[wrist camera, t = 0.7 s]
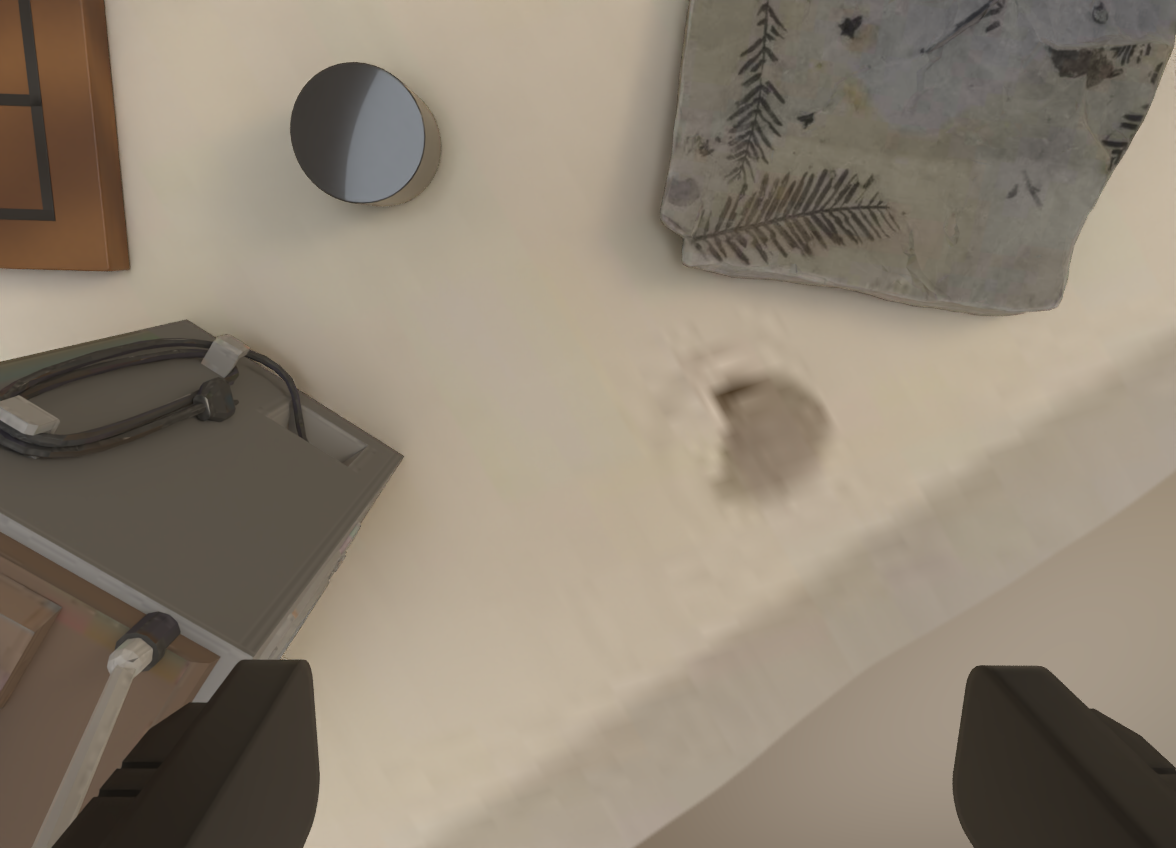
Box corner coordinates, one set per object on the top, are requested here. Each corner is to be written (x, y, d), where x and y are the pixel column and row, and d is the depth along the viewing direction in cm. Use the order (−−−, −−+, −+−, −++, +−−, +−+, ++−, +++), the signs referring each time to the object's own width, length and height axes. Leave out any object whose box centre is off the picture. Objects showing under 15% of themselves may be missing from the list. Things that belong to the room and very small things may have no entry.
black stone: (318, 78, 31) (286, 59, 27) (440, 82, 31) (424, 64, 28) (323, 204, 32) (293, 201, 29) (442, 208, 32) (426, 205, 29)
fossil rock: (648, 270, 33) (654, 273, 31) (709, -149, 30) (721, -181, 27) (1071, 326, 34) (1108, 333, 31) (1176, -75, 30) (1226, -101, 28)
